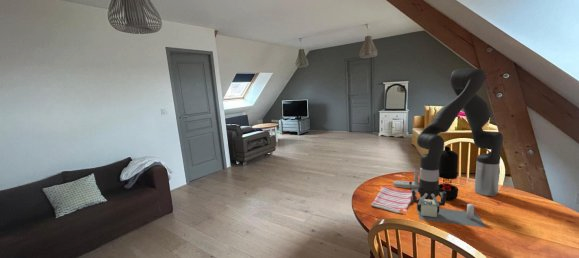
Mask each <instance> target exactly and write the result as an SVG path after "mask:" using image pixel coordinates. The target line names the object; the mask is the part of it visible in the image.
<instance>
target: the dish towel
mask: <svg viewBox="0 0 579 258" xmlns="http://www.w3.org/2000/svg"><path fill="white" fill-rule="evenodd" d="M412 202H413V197H412V191H411V190H400V189H395V188H391V187H389V186H386V185H385V186H382V187H381V189H380V191H379V192H378V193H377V195H376V197H375V198H374V200H373V201H372V202H371V204H370V206H371V207H374V208H376V209H381V210H384V211H387V212H391V213H395V214H401V215H407V214H406V213H403V212H402V211H401V210H403V211H404V212H408V207H410V206H411V203H412Z"/></svg>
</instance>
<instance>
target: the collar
mask: <svg viewBox="0 0 579 258" xmlns="http://www.w3.org/2000/svg"><path fill="white" fill-rule="evenodd" d="M425 200H426V201H430V202H431V204H432V205H427V204H424V202H425ZM421 215H422V216H431V217H437V205H436V203H435V201H434V199H433V200H430V199H424V201H422V203H421Z"/></svg>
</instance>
